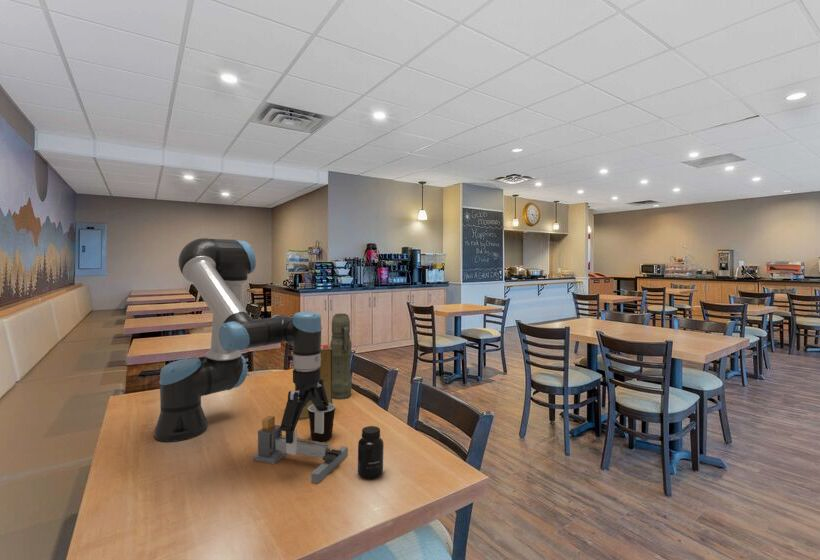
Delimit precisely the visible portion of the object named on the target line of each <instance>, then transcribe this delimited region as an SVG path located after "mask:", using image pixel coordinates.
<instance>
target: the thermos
mask: <svg viewBox="0 0 820 560" xmlns="http://www.w3.org/2000/svg"><path fill="white" fill-rule="evenodd" d="M350 332H351V320H350V316H349V315H348V314H347V313H335V314H334V315H333V316H332V319H331V333H332V334H331V340H330V343H329V346H330V347H331V348H332V400H345V399H349V398H351V397H350V396H352V378H351V356H352V340H351V335H350Z"/></svg>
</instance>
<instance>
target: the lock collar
mask: <svg viewBox="0 0 820 560" xmlns="http://www.w3.org/2000/svg"><path fill="white" fill-rule="evenodd" d="M280 426H281V424H280V425H279V424H276V417H275V416H274V415H268V416H266V417H263V418H262V419H261V427H262V428H261V429H258V431H257V454H258V455H262V456H267V457H271V456H272V438H271V435H272V434H273V449H275V439H277V438H279V437H280V436H282V435H283V431H281V430H280Z"/></svg>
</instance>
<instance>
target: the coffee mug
mask: <svg viewBox="0 0 820 560" xmlns="http://www.w3.org/2000/svg"><path fill="white" fill-rule="evenodd" d="M326 407H328V410H327V411H324V433H323V434H320V433H315V432H314V431H315V411H316V410H318V409H316V407H315V406H314V404H313V405H311V406H309V407H308V414H309V418H308V420H309V428H310V431H309V432H310V436H311V437H310V438H311V439H310V440H311V441H317V442H322V443H327V442H329V441H330V440H331V439H333V438H332V437H333V430H334V421H335V413H336V405H335V404H333V403H332V404H331V403H329V405H328V406H326Z"/></svg>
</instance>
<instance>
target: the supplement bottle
mask: <svg viewBox="0 0 820 560" xmlns="http://www.w3.org/2000/svg"><path fill="white" fill-rule="evenodd" d="M384 445H385V444H384V440H383V439H382V438H381V428H380V427H378V426H375V425H368V426H365V427H363V428H362V429H361V438H360V439H358V443H357V474H358V476H359V477H360V478H362V479H364V480H375V479H378V478H380V477H381V476H382V475H383V472H384Z"/></svg>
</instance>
